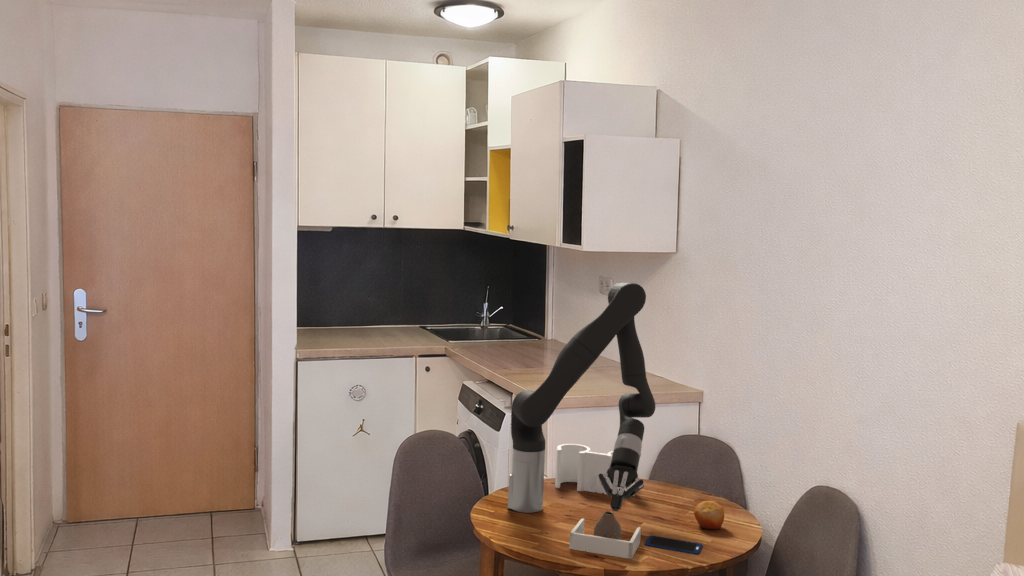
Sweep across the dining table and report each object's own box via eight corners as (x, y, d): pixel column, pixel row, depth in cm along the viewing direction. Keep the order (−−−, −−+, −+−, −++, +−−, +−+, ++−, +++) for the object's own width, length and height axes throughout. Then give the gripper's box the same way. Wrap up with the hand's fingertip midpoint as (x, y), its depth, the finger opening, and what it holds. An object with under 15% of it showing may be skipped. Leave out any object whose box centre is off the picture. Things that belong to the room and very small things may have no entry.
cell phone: (698, 556, 204) (698, 553, 204) (643, 546, 209) (643, 543, 209) (703, 546, 211) (703, 543, 211) (649, 537, 216) (649, 534, 216)
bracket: (638, 491, 255) (640, 452, 254) (631, 499, 246) (633, 460, 245) (561, 479, 264) (563, 442, 263) (551, 487, 255) (553, 448, 254)
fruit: (725, 517, 229) (725, 497, 224) (722, 539, 223) (722, 519, 218) (696, 513, 231) (695, 493, 227) (692, 535, 225) (692, 515, 221)
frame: (569, 548, 204) (569, 532, 204) (580, 533, 216) (581, 518, 215) (631, 559, 199) (632, 542, 199) (640, 542, 210) (640, 527, 210)
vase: (590, 549, 204) (592, 515, 204) (596, 540, 211) (598, 506, 210) (618, 554, 202) (619, 519, 202) (623, 544, 209) (624, 510, 208)
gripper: (601, 443, 229) (589, 499, 218) (649, 449, 225) (638, 506, 214) (604, 457, 234) (592, 512, 223) (651, 464, 230) (640, 520, 219)
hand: (615, 509), depth 219 cm, fingers closed
